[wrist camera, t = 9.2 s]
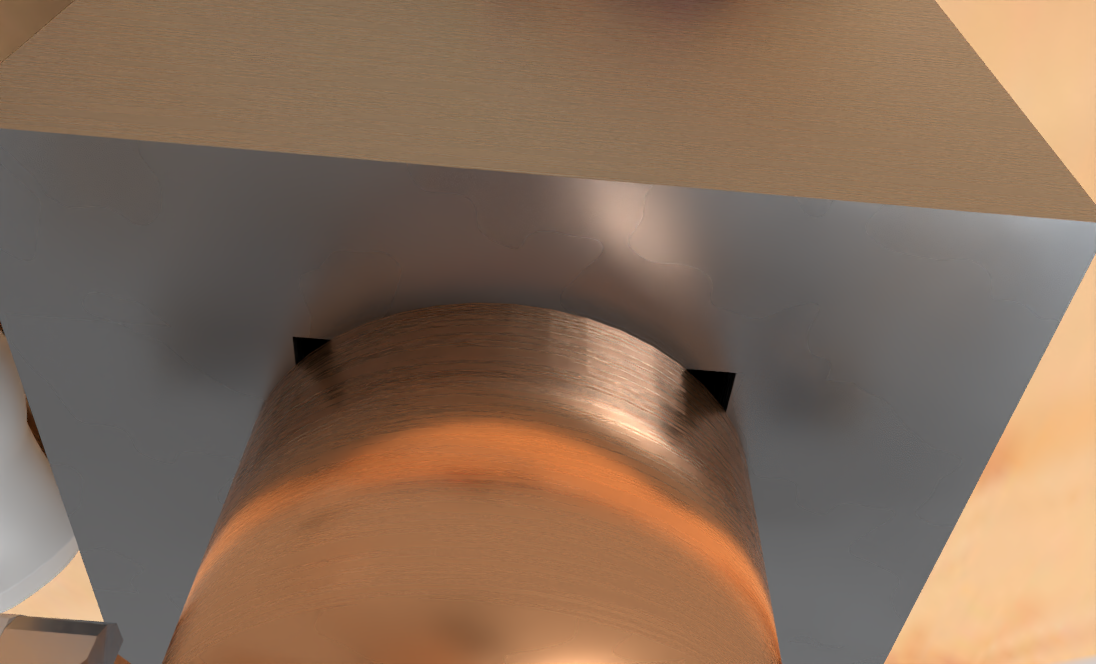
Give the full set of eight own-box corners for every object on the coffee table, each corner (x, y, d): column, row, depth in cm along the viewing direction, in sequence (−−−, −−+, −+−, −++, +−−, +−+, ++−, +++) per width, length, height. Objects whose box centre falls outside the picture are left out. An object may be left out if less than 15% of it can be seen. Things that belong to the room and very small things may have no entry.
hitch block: (286, 581, 27) (195, 886, 21) (190, -98, 16) (-69, 122, 10) (712, 613, 27) (748, 924, 21) (909, -32, 16) (1111, 223, 10)
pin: (358, 342, 20) (190, 912, 12) (341, 37, 16) (63, 572, 8) (670, 367, 21) (730, 949, 12) (732, 72, 16) (889, 634, 8)
